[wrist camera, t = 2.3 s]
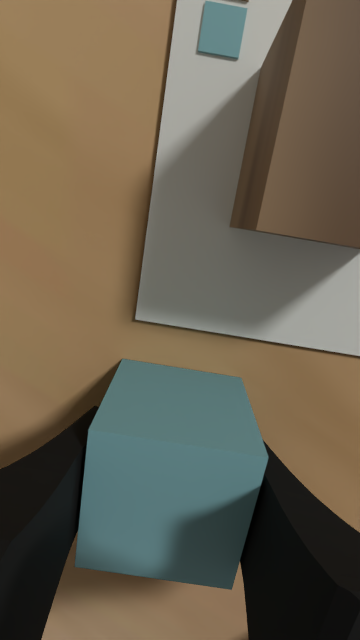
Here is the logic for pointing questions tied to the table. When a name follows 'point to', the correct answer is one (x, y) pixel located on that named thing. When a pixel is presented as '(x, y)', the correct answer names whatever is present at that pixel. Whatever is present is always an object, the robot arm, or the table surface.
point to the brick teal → (170, 476)
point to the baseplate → (231, 201)
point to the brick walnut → (306, 130)
